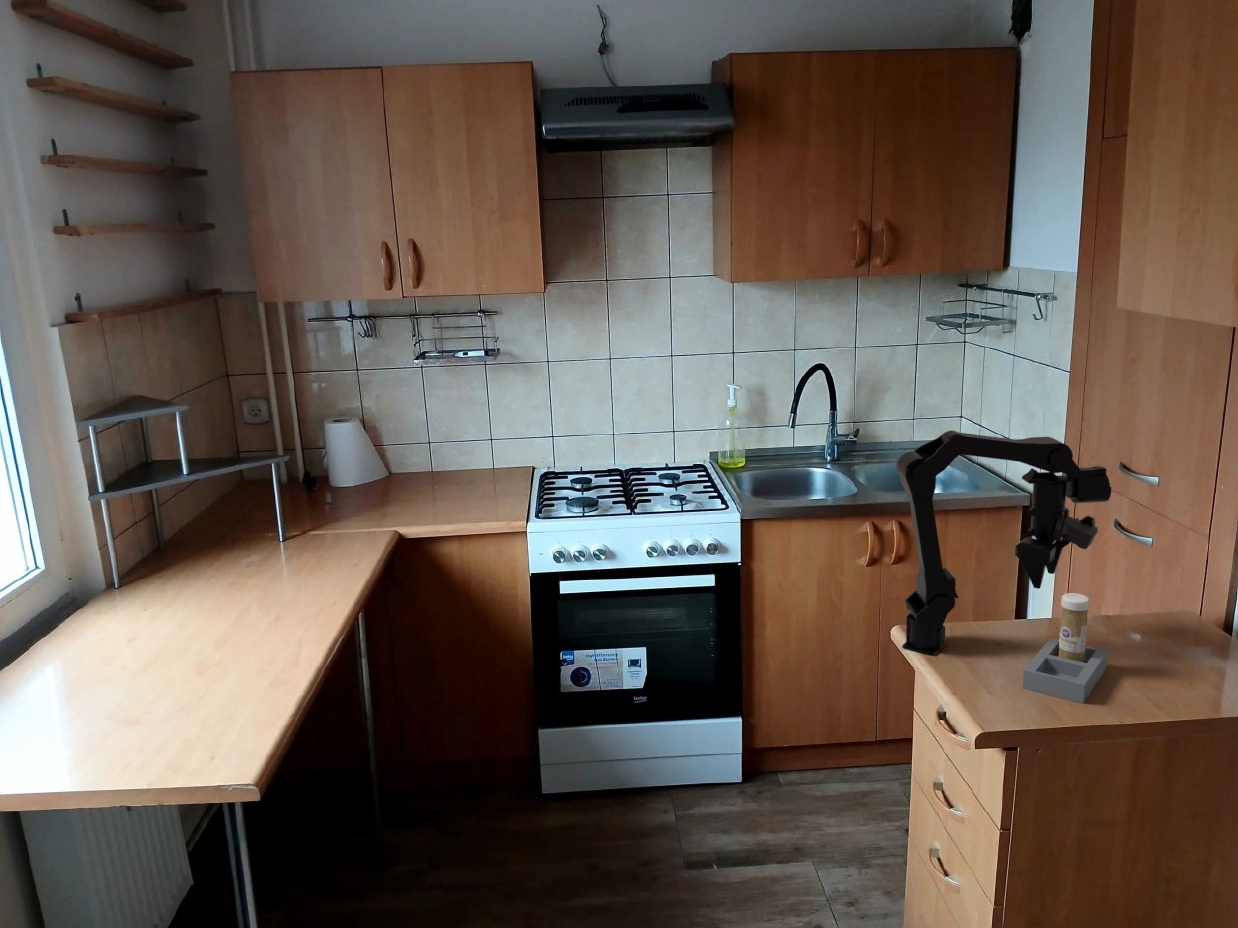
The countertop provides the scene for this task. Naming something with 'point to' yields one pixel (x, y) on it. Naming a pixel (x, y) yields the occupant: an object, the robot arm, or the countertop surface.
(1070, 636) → the sprinkles bottle
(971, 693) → the countertop surface
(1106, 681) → the countertop surface
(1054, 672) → the slot caddy
